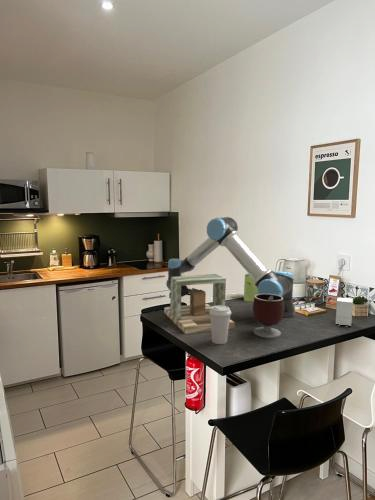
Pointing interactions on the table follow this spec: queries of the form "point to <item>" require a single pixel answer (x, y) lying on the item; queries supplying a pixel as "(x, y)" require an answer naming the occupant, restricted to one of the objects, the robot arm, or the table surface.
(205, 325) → the tunnel
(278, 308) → the mate gourd
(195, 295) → the walnut block
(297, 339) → the table surface
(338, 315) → the supplement box
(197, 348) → the table surface
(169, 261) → the robot arm
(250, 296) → the protein box
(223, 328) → the coffee cup
